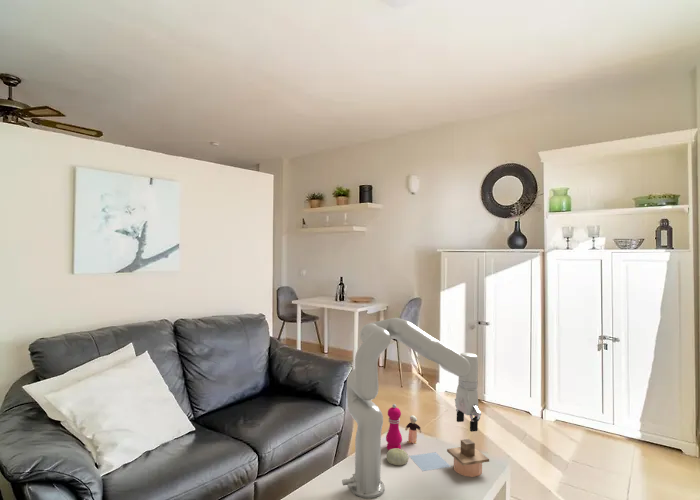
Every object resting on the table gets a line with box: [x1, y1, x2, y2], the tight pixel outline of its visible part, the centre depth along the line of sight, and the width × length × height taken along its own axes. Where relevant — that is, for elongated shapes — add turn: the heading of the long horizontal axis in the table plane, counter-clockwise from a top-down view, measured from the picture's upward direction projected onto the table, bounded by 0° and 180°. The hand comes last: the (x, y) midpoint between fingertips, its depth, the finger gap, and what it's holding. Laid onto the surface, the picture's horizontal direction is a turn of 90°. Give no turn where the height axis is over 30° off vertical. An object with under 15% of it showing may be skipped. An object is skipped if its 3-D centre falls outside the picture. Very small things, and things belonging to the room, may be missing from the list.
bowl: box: [453, 457, 483, 478], centre depth 163 cm, size 11×11×6 cm
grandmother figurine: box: [404, 415, 422, 445], centre depth 187 cm, size 8×4×13 cm, turn 81°
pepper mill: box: [385, 403, 403, 451], centre depth 181 cm, size 7×7×20 cm
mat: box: [408, 451, 452, 472], centre depth 169 cm, size 13×13×1 cm
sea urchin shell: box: [386, 448, 410, 466], centre depth 170 cm, size 9×8×8 cm
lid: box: [446, 438, 490, 465], centre depth 163 cm, size 12×12×6 cm
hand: (466, 426), depth 164 cm, fingers open, 9 cm apart
